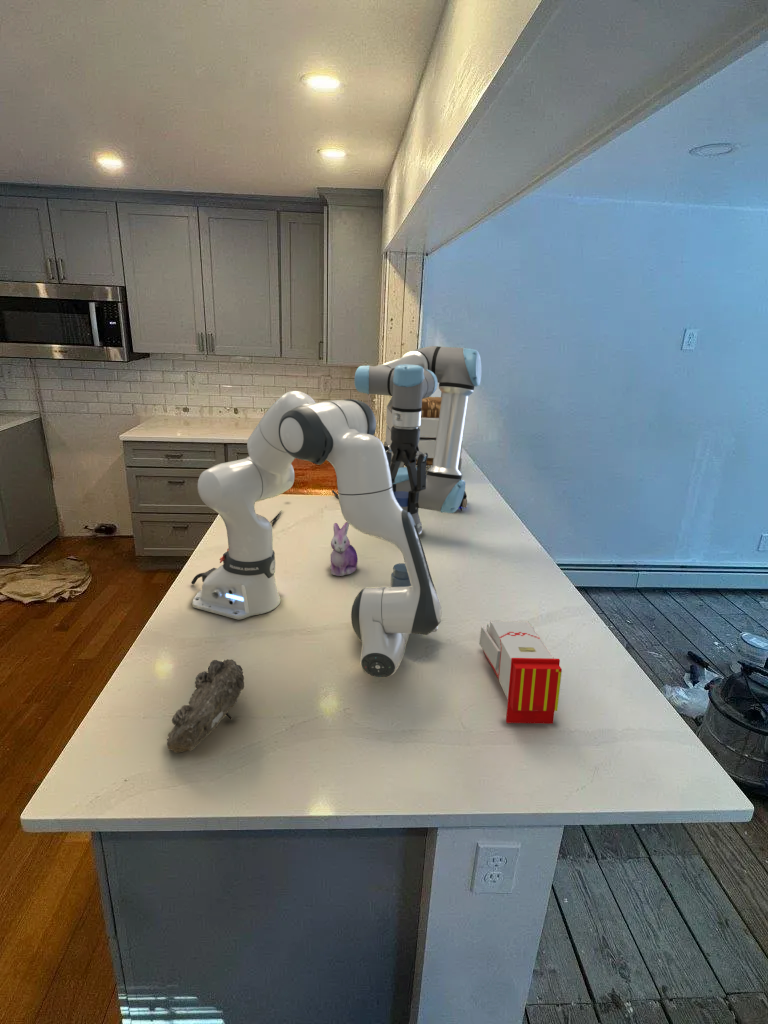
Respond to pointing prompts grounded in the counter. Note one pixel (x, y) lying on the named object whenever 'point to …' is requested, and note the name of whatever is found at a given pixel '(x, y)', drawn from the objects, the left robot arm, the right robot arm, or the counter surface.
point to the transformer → (422, 428)
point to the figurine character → (463, 502)
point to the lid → (402, 498)
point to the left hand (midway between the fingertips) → (401, 598)
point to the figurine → (342, 552)
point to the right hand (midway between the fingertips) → (401, 510)
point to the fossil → (206, 705)
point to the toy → (523, 670)
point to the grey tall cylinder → (400, 576)
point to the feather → (275, 519)
